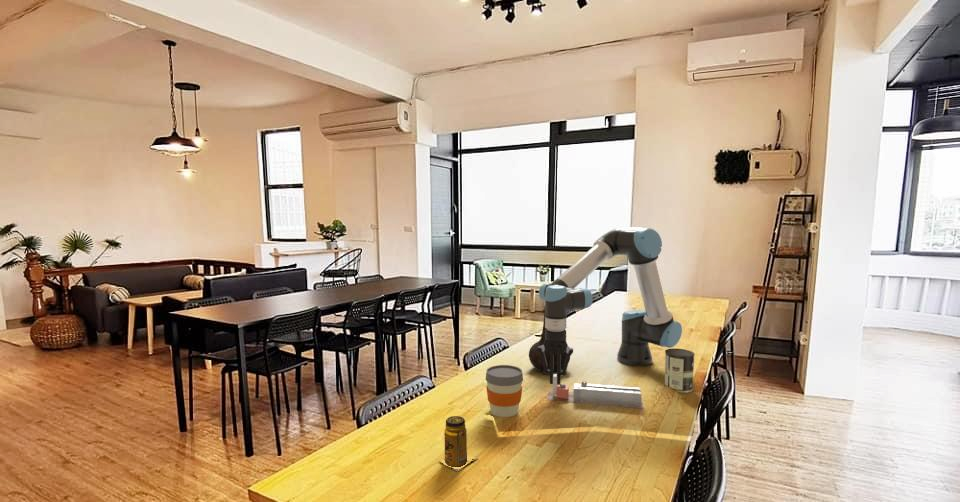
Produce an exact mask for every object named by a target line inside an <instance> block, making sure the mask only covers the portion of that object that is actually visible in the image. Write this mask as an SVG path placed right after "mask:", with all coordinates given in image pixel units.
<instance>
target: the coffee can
mask: <svg viewBox="0 0 960 502" xmlns="http://www.w3.org/2000/svg"><path fill="white" fill-rule="evenodd" d="M664 353H665V356H664V357H665V359H664V360H665V361H664V362H665V363H664V365H665V367H664V386H667V387H669V388H672V389H676V391H677V392H678V393H681V394H682V393H683V394H686V393H692V392H693V391H694V366H695V365H694V364H695V363H694V362H695V353H694V352H693V351H691V350H689V349H688V350H687V349H684V348H675V347H673V348H668V349H665V351H664Z"/></svg>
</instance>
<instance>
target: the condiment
mask: <svg viewBox="0 0 960 502" xmlns="http://www.w3.org/2000/svg"><path fill="white" fill-rule="evenodd" d="M467 431H468V430H467V428H466V420H465V418H464V417H462V416H460V415H452V416H449V417H448V418H446V420H445V428H444V433H443V435H444V459H445V463H446V464H447V465H448V466H451V467H461V466H463V465H465V464H466V462H467V454H468V446H467V445H468V443H467V441H468V440H467V437H468V436H467V435H468V434H467V433H468V432H467ZM475 457H476V456H475ZM478 459H479V457H476V459H472V460H475V461H476V460H478ZM470 464H471V462H470V463H469V465H470ZM453 470H454V471H456V472H460V471H461V470H462V469H459V470H458V469H453Z"/></svg>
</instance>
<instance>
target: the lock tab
mask: <svg viewBox="0 0 960 502" xmlns="http://www.w3.org/2000/svg"><path fill="white" fill-rule="evenodd" d="M569 387H570V386H569V384H565V383H560V385H557V398H563V399H568V395H569V392H570V390H569V389H570V388H569Z"/></svg>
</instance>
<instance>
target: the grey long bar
mask: <svg viewBox="0 0 960 502" xmlns="http://www.w3.org/2000/svg"><path fill="white" fill-rule="evenodd" d="M573 393H574V395H573V402H575V403H574V404H582V403H590V404H589V405H593V404H601V405H600V406H604V405H612V406H611V407H615V406H623V407H622V408H626V407H634V408H633V409H636V408H641V399H642V396H643V395H642V391H641V392H639V391H627V390H615V389H603V388H591V387H582V383H578V382H577V383H576V382H575V383H573Z"/></svg>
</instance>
